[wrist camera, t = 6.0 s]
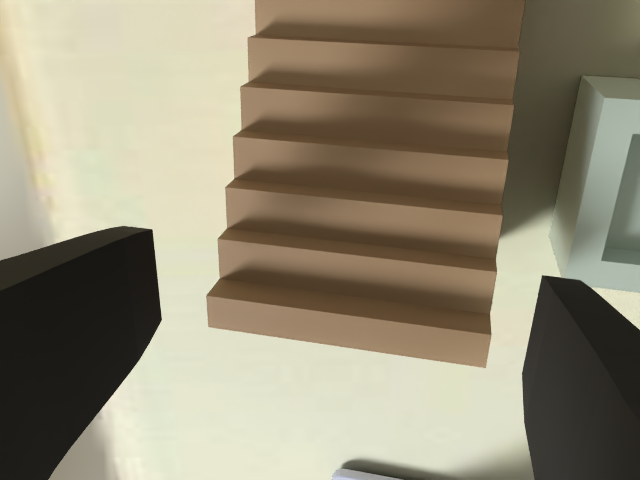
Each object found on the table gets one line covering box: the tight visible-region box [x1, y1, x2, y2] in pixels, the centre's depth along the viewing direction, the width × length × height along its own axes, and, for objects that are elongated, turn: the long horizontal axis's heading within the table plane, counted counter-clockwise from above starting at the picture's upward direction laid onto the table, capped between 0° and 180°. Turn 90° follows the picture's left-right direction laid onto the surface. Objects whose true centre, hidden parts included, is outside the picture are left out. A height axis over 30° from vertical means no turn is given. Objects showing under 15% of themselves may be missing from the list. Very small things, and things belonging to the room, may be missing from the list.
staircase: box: [206, 0, 525, 368], centre depth 14 cm, size 8×6×6 cm
